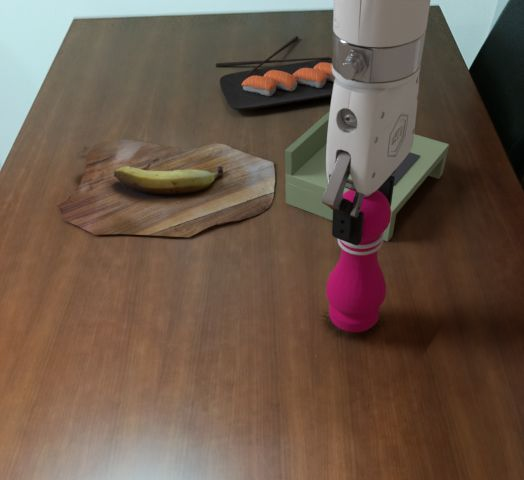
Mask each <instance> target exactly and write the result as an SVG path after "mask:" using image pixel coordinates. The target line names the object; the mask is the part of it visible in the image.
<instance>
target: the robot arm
mask: <svg viewBox="0 0 524 480" xmlns="http://www.w3.org/2000/svg"><path fill="white" fill-rule="evenodd" d="M431 1H432V0H333V13H332V42H331V43H332V45H331V46H332V48H331V58H332V73H333V75H334V76H335V77H336V78H335V80H334V86H333V92H332V96H331V97H330V99H331V100H330V107H329V111H330V114H329V122H328V133H327V147H326V174H327V179H328V181H329V182H328V185H327V187H326V190H325V192H324V195H323V198H322V203H323V204H325V205H327V206H329V207H330V208H331V209H332V210H333V221H332V220H331V223H332V225H331V235H332V237H333V238H335V239H337V240H338V239H340V240H343V241H345V242H348V243H351V244H353V245H359V244H360V242H361V239H362V228H363V217H364V213H363V212H361V211H360V210H361V206H362V202H363V198H364V195H370V194H372V193H373V192H375V191H376V190H378V191H380V192H381V193H383V194H384V196H385V197H386V198H387V199H388V201H389V204H390V206H391V202H392V195H393V187H394V180H395V177H394V176H391V174H392V175H394V174H395V173H396V170H397V167H398V166H399V165H400V164H401V162H402V161H403V160H404V159H405V158H406V156H407V155H408V154H409V152H410V150H411V148H412V145H413V139H414V134H415V131H416V123H417V122H416V120H417V113H418V102H419V89H420V73H421V67H422V59H423V53H424V46H425V40H426V34H427V33H426V32H427V26H428V20H429V13H430V7H431V6H430V5H431ZM349 175H351V177H352V180H350V179H348V177H349ZM344 188H347V189H350V190H353V191H355V195H354V199H353V203H352V202H351V201H349V200H347V199H345V198H344V197H343V191H344Z"/></svg>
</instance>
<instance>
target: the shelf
mask: <svg viewBox="0 0 524 480" xmlns="http://www.w3.org/2000/svg"><path fill="white" fill-rule="evenodd" d="M329 114H330V110H329V111H327V112H326V113H325V114H324V115H322V116H321V118H320V119H319V120H318V121H316V122H315V123H314V124H313V125H312V126H311V127H309V128H308V129H307V130H306V131H305V132H304V133H303V134H302V135H300V136H299V138H297V139H296V140H295V141H294V142H293V143H292V144H290V145H289V146H288V147H287V148H286V149H285V150H284V152H285V153H284V160H285V161H284V162H285V163H284V164H285V166H284V167H285V169H284V170H285V172H284V174H285V204H287V205H289V206H292V207H295V208H297V209H300V210H303V211H305V212H308V213H311V214H313V215H315V216H318V217H321V218H324V219H327V220H329V221H331V222H332V221H333V210H332V209H331V208H330V207H329V206H327V205H325V204H323V203H322V198H323V195H324V192H325V190H326V187H327V185H328V182H329V181H328V179H327V174H326V147H327V133H328V122H329ZM449 148H450V144H449V143H446V142H443V141H439V140H435V139H432V138H429V137H426V136H422V135H418V134H415V133H414V139H413V145H412V148H411V150H410V152H409V154H408V155H407V156H406V158H405V159H404V160H403V161H402V162H401V164H400V165H399V166H398V167H397V170H396V173H395V174H394V175H392V174H391V176H394V177H395V180H394V187H393V195H392V202H391V206H390V207H391V219H390V223H389V225H388V227H387V229H386V230H385V231H384V237H383V241H385V242H389V241H390V240H391V239H392V237H393V235H394V229H395V223H396V218H397V214H398V213H399V212H400V210H401V209H402V208H403V207H404V205H405V204H406V203H407V202H408V201H409V199H410V198H411V197H412V196H413V194H414V193H415V192H416V191H417V190H418V189H419V188H420V186H421V185H422V184H423V183H424V182H425V180H426V179H427V178H428V177H431V178H434V179H437V180H440V179H441V177H442V175H443V174H444V171H445V166H446V161H447V157H448V153H449ZM348 179H350V180H352V177H351V175H349V177H348ZM349 190H350V189H347V188H344V191H343V194H344V193H346V192H347V191H349Z"/></svg>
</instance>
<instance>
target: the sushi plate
mask: <svg viewBox="0 0 524 480" xmlns="http://www.w3.org/2000/svg"><path fill="white" fill-rule="evenodd" d="M298 40H299V36H298V35H295V36H293V38H291V39H290V40H289V41H287V42H286V43H284V44H283V46H281V47H280V48H278V49H277V50H276V51H275V52H274V53H272V54H271V55H270V56H268V58H266V59H264V60H249V61H248V60H246V61H229V62H226V61H225V62H216V63H215V67H216V68H221V67H233V66H234V67H236V66H247V65H249V66H250V65H257V66H255V67H254V68H253V69H249V70H244V71H243V70H242V71H237V72H232V73H231V72H230V73H227V74H224V75H223V76H220V78H219V87H220V89H221V92H222V94H223V97H224V99H225V102H226V103H227V105H228V106H229V107H230V108H231V110H236V111H247V110H249V111H250V110H256V109H262V108H263V109H264V108H268V107H269V108H270V107H274V106H275V107H276V106H281V105H287V104H295V103H299V102H306V101H311V100H318V99H325V98H332V92H333V86H334V80H335V78H336V77H335V76H334V75H333V73H332V57H331V56H323V57H322V56H321V57H307V58H306V57H305V58H304V57H303V58H289V59H288V58H287V59H272V58H274V57H275V56H277V55H278V54H280V53H281V52H282V51H284V50H285V49H287V48H289V47H290V46H291V45H292V44H293V43H295V42H296V41H298ZM287 62H295V63H289V64H282V65H275V66H269V67H262V68H260V67H261V66H263V65H264V64H273V63H274V64H275V63H287Z"/></svg>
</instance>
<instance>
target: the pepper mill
mask: <svg viewBox="0 0 524 480" xmlns="http://www.w3.org/2000/svg"><path fill="white" fill-rule="evenodd" d="M354 195H355V191H353V190H349V191H347V192H346V193H344V194H343V197H344V198H345V199H347V200H349V201H351V202H352V203H353V199H354ZM360 211H361V212H363V213H364V217H363V228H362V239H361V242H360V244H359V245H353V244H351V243H348V242H345V241H343V240H340V239H337V244H338V246H339V247H340V249H341V252H340V256H339V260H338V262H337V263H336V265H335V267H334V268H333V269H332V271H331V272H330V274H329V276H328V279H327V282H326V287H325V294H326V298H327V301H328V303H329V308H328V310H329V311H328V316H329V319H330V321H331V322H332V324H334V326H335V327H337V328H338V329H340V330H342V331H345V332H348V333H361V332H365V331H367V330H370V329H371V328H372V327H374V326H375V324H377V322H378V319H379V316H380V309H381V308H380V307H381V306H382V305H383V303H384V301H385V299H386V295H387V284H386V279H385V275H384V274H383V273H384V272H383V271H382V268H381V266H380V264H379V259H378V251H379V250H380V249H381V248H382V246H383V245H384V240H383V237H384V231H385V230H386V229H387V227H388V225H389V223H390V219H391V207H390V204H389V201H388V199H387V198H386V197H385V196H384V194H383V193H381V192H380V191H378V190H376V191H375V192H373V193H372V194H370V195H364V198H363V202H362V206H361V210H360Z"/></svg>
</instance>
